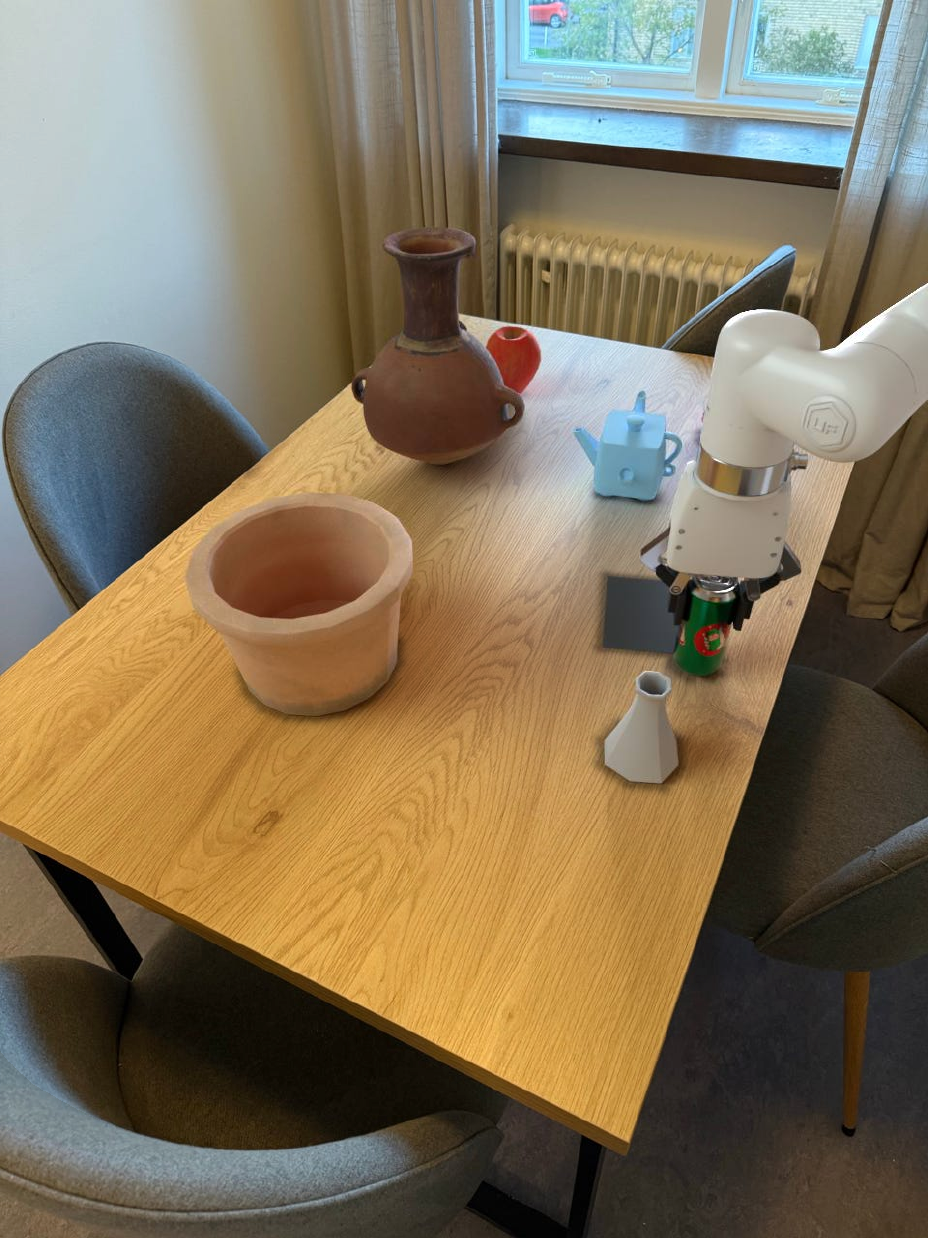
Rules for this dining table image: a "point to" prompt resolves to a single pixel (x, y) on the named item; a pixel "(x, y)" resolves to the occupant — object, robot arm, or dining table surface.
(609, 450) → the teapot
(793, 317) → the robot arm
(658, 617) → the mat
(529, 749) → the dining table surface
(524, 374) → the apple
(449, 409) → the vase
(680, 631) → the soda can
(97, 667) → the dining table surface
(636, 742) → the flask
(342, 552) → the pottery
